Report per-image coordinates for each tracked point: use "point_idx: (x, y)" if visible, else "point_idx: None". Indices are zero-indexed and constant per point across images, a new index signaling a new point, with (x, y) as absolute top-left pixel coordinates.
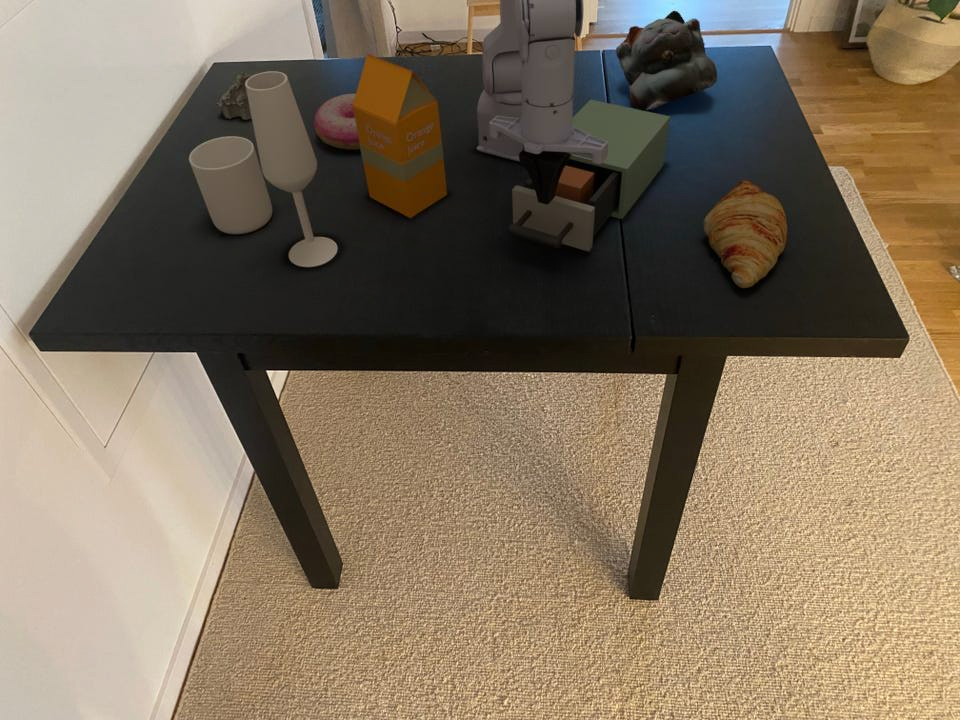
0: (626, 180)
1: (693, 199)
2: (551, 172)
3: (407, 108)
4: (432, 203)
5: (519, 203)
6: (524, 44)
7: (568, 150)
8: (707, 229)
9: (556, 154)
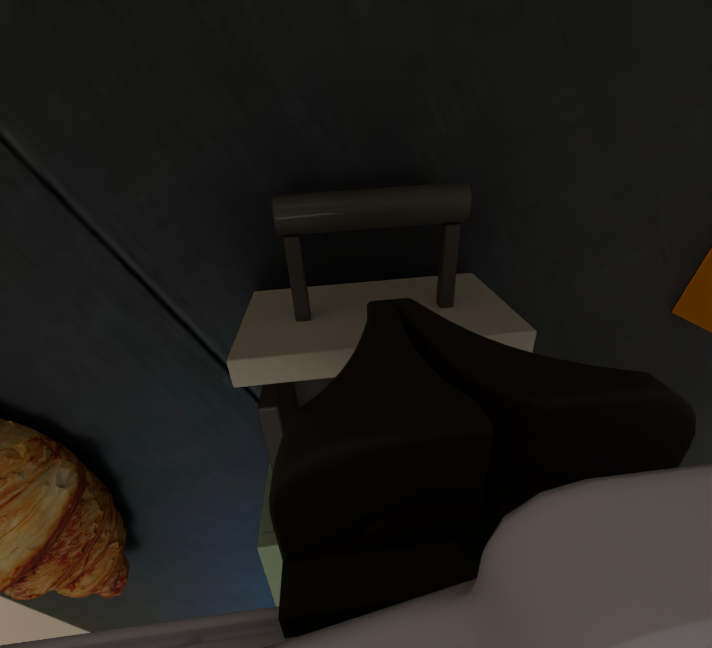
0: (262, 512)
1: (202, 519)
2: (338, 389)
3: None
4: (701, 266)
5: (488, 311)
6: None
7: None
8: (56, 470)
9: (360, 555)
